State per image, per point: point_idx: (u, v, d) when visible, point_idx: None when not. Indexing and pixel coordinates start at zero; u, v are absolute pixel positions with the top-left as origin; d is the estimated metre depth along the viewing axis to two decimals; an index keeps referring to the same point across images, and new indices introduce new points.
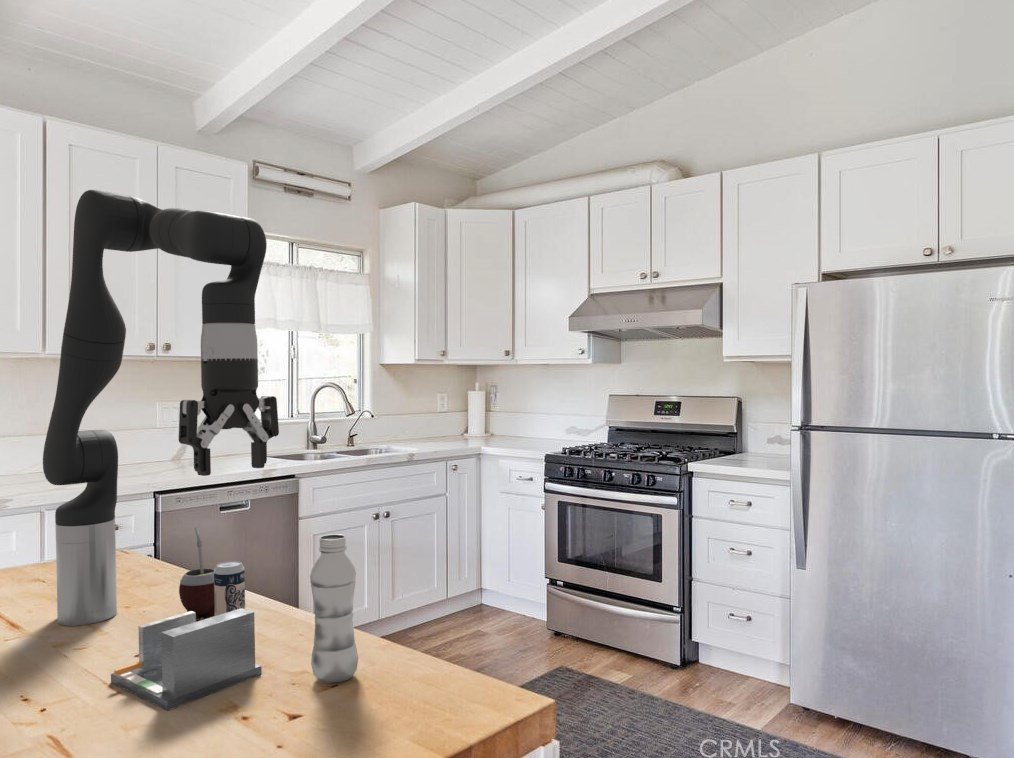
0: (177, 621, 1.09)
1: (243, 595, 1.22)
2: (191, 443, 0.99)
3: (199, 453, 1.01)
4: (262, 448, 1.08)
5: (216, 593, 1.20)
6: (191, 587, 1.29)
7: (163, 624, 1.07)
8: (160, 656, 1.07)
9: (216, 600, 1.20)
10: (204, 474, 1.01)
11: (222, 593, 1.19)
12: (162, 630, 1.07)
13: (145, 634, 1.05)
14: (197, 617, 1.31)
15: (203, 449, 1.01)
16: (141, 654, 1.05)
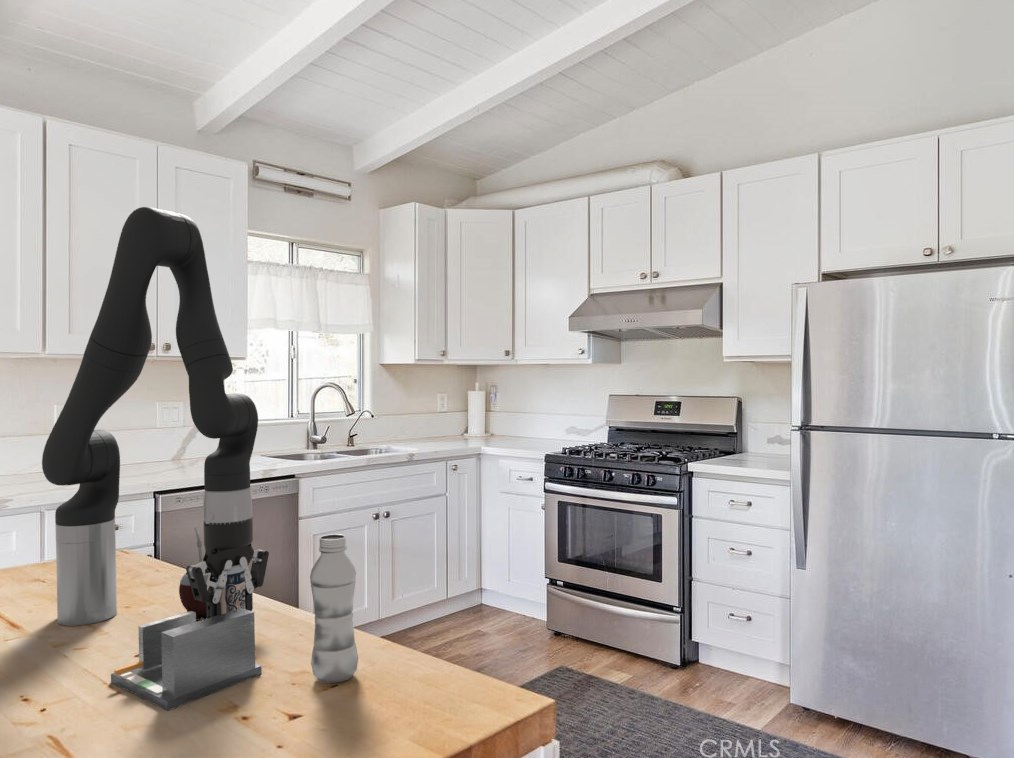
0: (177, 621, 1.09)
1: (243, 595, 1.22)
2: (204, 601, 1.17)
3: (211, 608, 1.18)
4: (248, 599, 1.23)
5: None
6: None
7: (163, 624, 1.07)
8: (160, 656, 1.07)
9: None
10: None
11: (222, 593, 1.19)
12: (162, 630, 1.07)
13: (145, 634, 1.05)
14: (197, 617, 1.31)
15: (214, 604, 1.19)
16: (141, 654, 1.05)
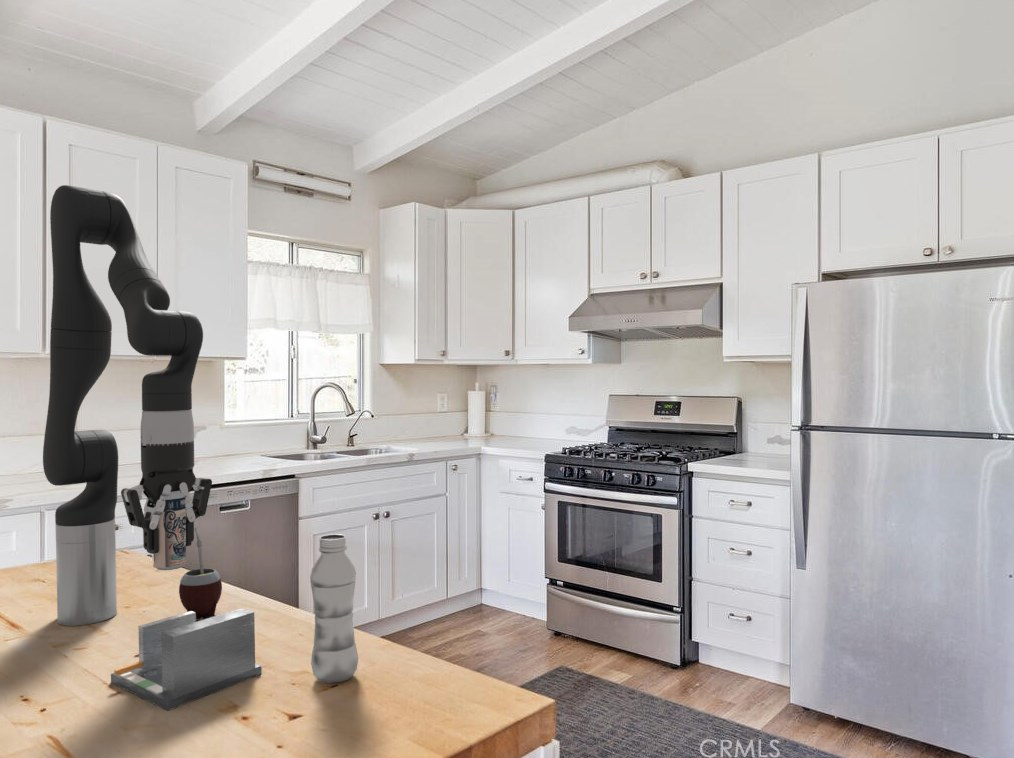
0: (177, 621, 1.09)
1: (184, 523, 1.16)
2: (140, 526, 1.11)
3: (148, 534, 1.12)
4: (189, 528, 1.17)
5: None
6: (191, 587, 1.29)
7: (163, 624, 1.07)
8: (160, 656, 1.07)
9: None
10: (152, 552, 1.13)
11: (161, 519, 1.13)
12: (162, 630, 1.07)
13: (145, 634, 1.05)
14: (197, 617, 1.31)
15: (152, 530, 1.13)
16: (141, 654, 1.05)
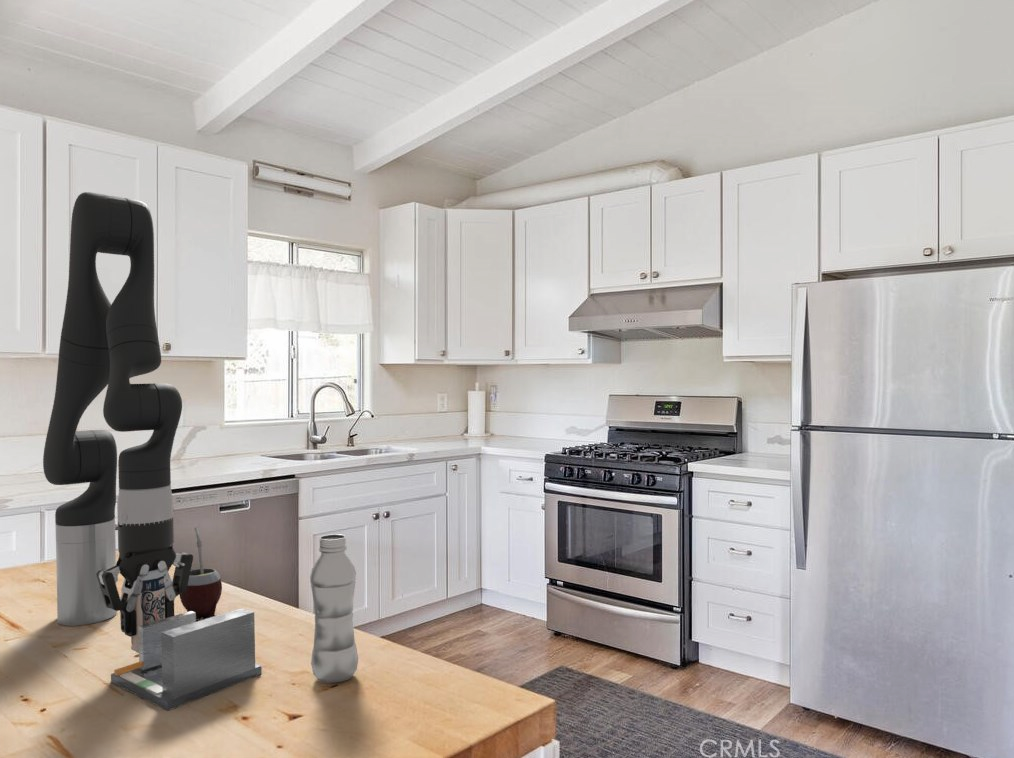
0: (177, 621, 1.09)
1: (162, 603, 1.12)
2: (116, 609, 1.07)
3: (125, 616, 1.09)
4: (169, 607, 1.14)
5: None
6: (191, 587, 1.29)
7: (163, 624, 1.07)
8: (160, 656, 1.07)
9: None
10: (130, 635, 1.09)
11: (138, 600, 1.10)
12: (162, 630, 1.07)
13: (145, 634, 1.05)
14: (197, 617, 1.31)
15: (129, 612, 1.09)
16: (141, 654, 1.05)
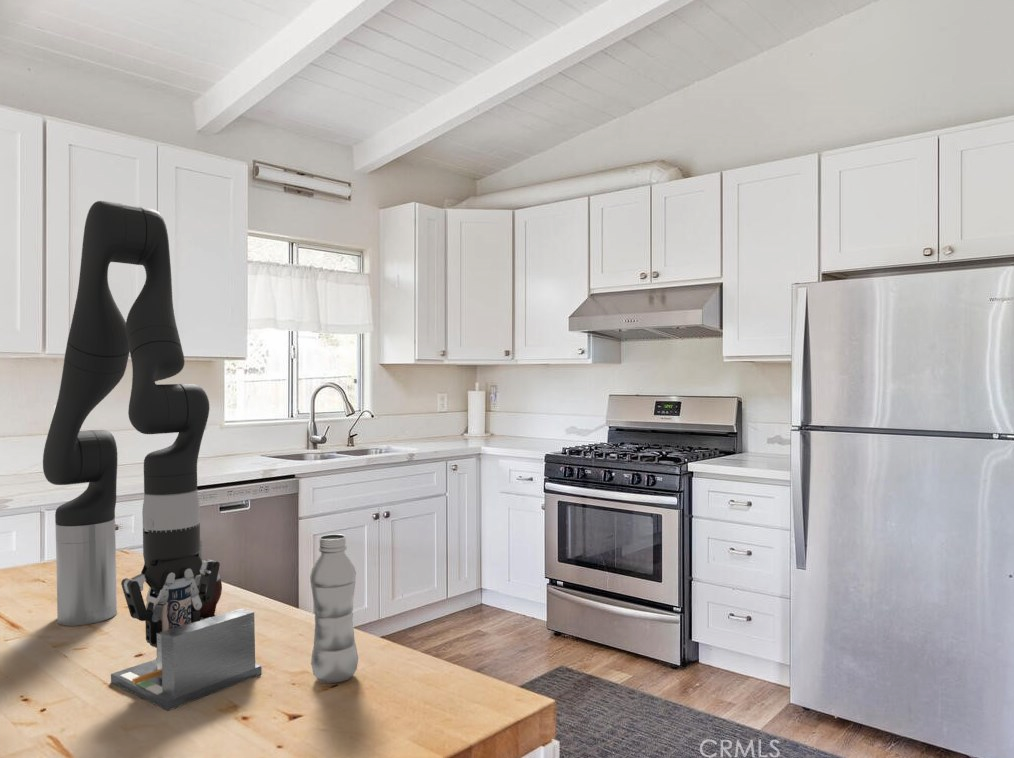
0: None
1: (189, 612, 1.07)
2: (142, 619, 1.03)
3: (150, 627, 1.04)
4: (195, 616, 1.09)
5: None
6: None
7: None
8: None
9: None
10: (155, 646, 1.05)
11: (164, 610, 1.05)
12: None
13: None
14: None
15: (154, 622, 1.05)
16: (160, 662, 1.02)
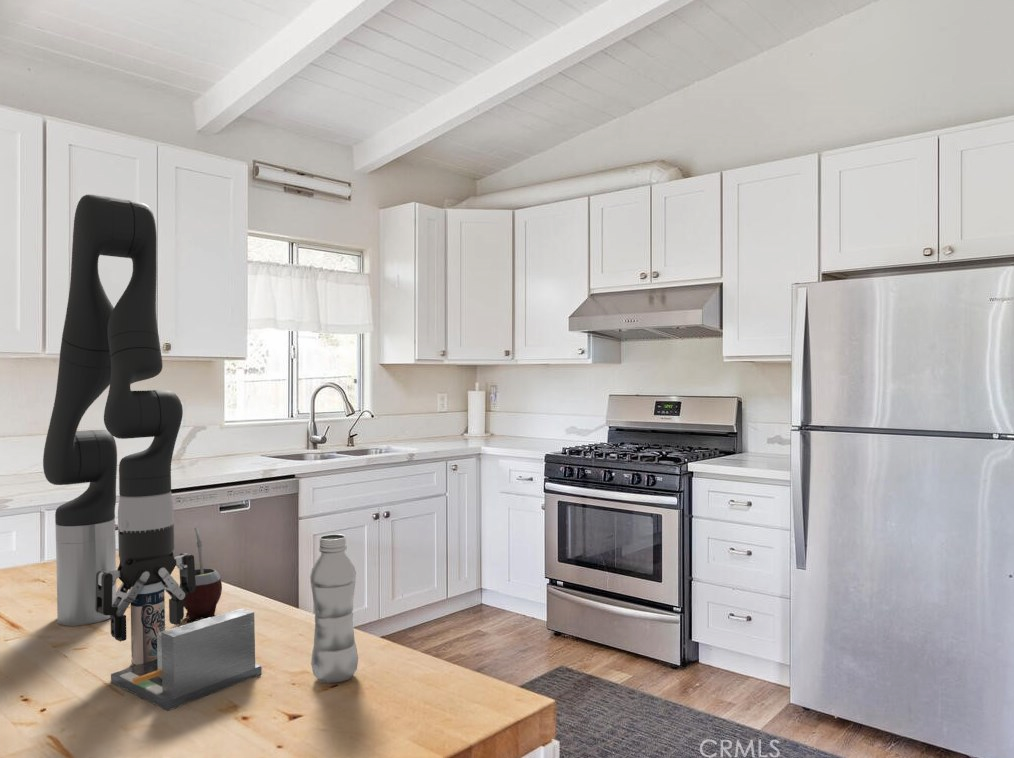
0: None
1: (162, 616, 1.12)
2: (106, 614, 1.06)
3: (115, 621, 1.07)
4: (178, 606, 1.15)
5: (132, 614, 1.10)
6: None
7: None
8: None
9: (132, 621, 1.10)
10: (120, 640, 1.08)
11: (138, 614, 1.10)
12: None
13: None
14: (197, 617, 1.31)
15: (119, 617, 1.08)
16: (160, 662, 1.02)
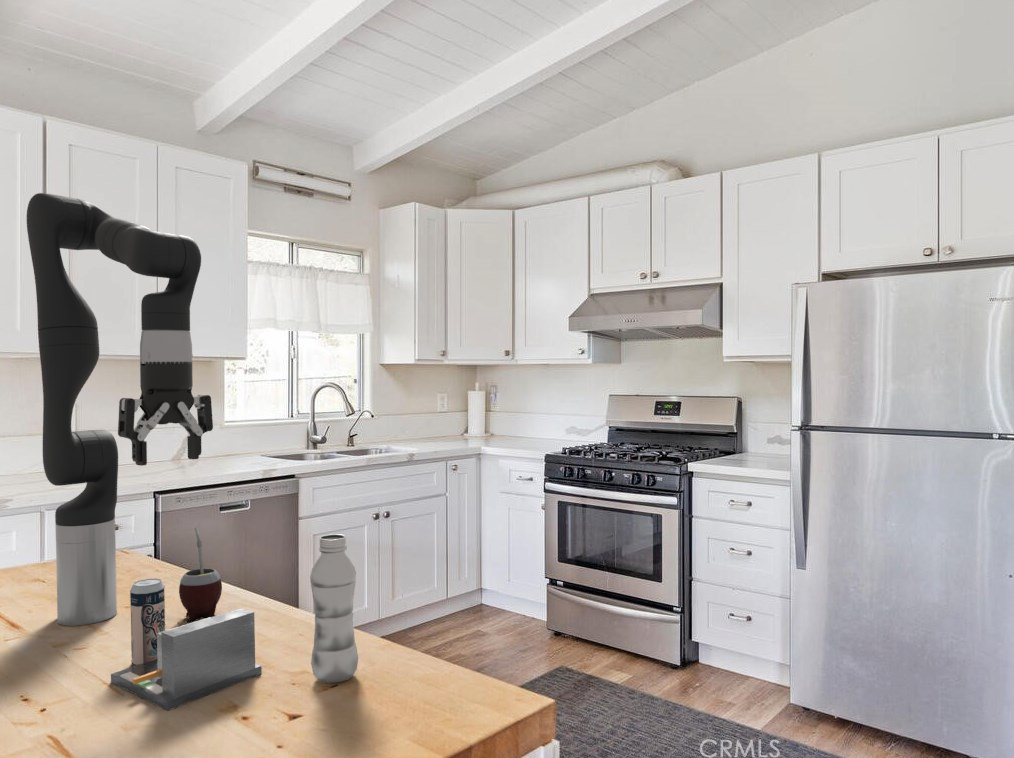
0: None
1: (162, 616, 1.12)
2: (128, 436, 1.12)
3: (136, 445, 1.14)
4: (196, 441, 1.21)
5: (132, 614, 1.10)
6: (191, 587, 1.29)
7: None
8: None
9: (132, 621, 1.10)
10: (141, 464, 1.14)
11: (138, 614, 1.10)
12: None
13: None
14: (197, 617, 1.31)
15: (140, 442, 1.14)
16: (160, 662, 1.02)
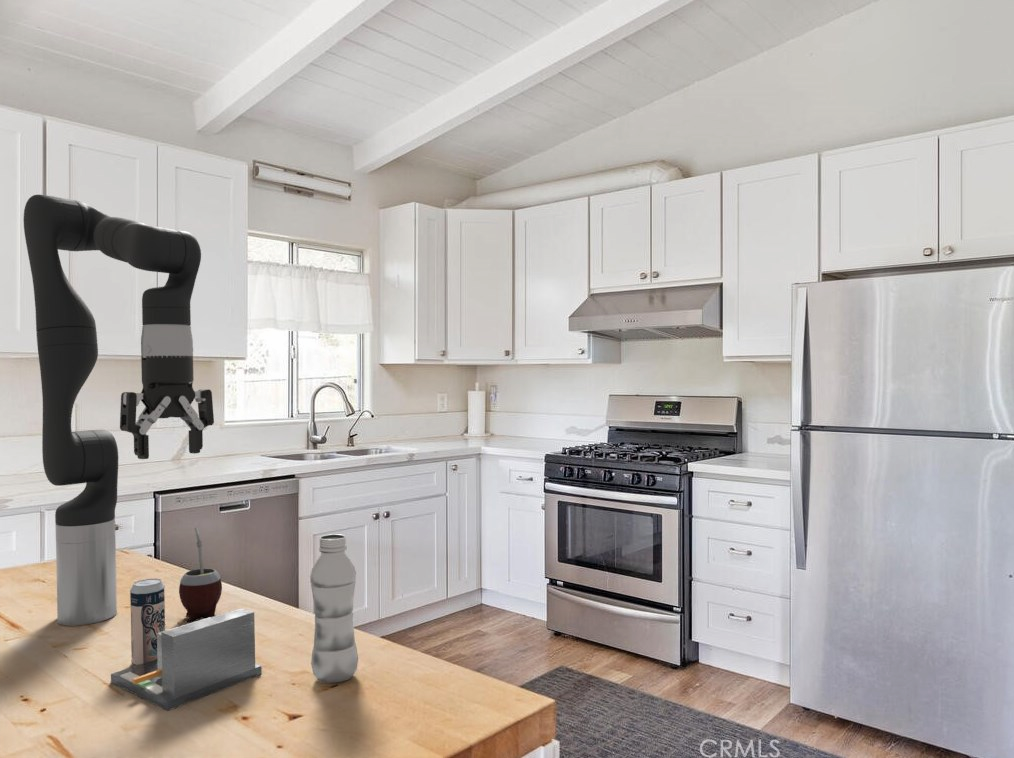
0: None
1: (162, 616, 1.12)
2: (130, 430, 1.13)
3: (138, 439, 1.14)
4: (198, 435, 1.22)
5: (132, 614, 1.10)
6: (191, 587, 1.29)
7: None
8: None
9: (132, 621, 1.10)
10: (143, 458, 1.15)
11: (138, 614, 1.10)
12: None
13: None
14: (197, 617, 1.31)
15: (142, 435, 1.15)
16: (160, 662, 1.02)
